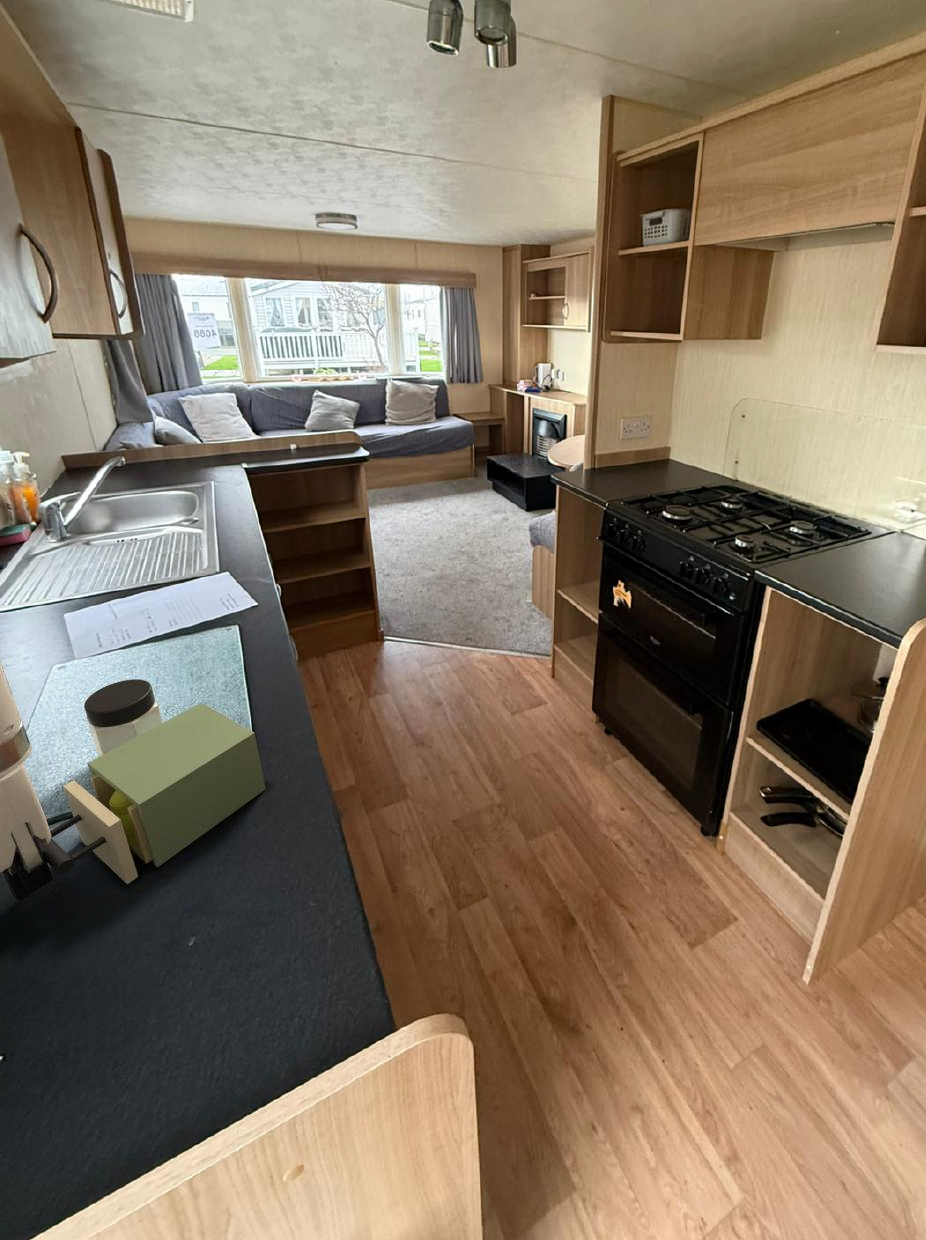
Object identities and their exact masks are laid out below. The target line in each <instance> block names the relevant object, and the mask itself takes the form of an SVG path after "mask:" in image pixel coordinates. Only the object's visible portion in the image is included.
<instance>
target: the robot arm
mask: <svg viewBox="0 0 926 1240" xmlns="http://www.w3.org/2000/svg"><path fill="white" fill-rule="evenodd" d="M31 752H32V744H31V741H30V740H29V736H28V733H27V731H26V728H25V725H24V721H23V719H22V717H21V714H20V711H19V708H18V705H17V703H16V700H15V698H14V695H13V692H12V689H11V687H10V685H9V681H8V678H7V675H6V673H5V670H4V667H3V665H2V662H1V661H0V873H2V874H3V876H4V879H5V881H6V883H7V887H8V888H9V890H10V893H11V894H12V895H13V896H14V897H15V899H16V900H17V901H18V902H20V901H23V900H25V899H26V898H28V897H29V896H30V895H32V894H33V893H35V892H37V891H39V890H40V889H42V888H43V887H45V886H46V885H48V884H50V883H51V881H53V878H54V876H53V874H52V871H51V869H50V867H49V866H50V865H49V864H48V863H47V861H46V858H45V856H44V853H43V852H42V850H41V847H40V844H39V841H40V842H41V843H42V844H43V845H44V844H45V845H48V843H49V842H50V840H51V833H50V831H51V830H50V827H49V824H48V821H47V817H46V816H45V812H44V810H43V807H42V804H41V802H40V800H39V797H38V794H37V792H36V790H35V788H34V785H33V783H32V779H31V778H30V776H29V773H28V771H27V768H26V767H25V765H24V762H25V761H26V760H27V759H28V757H29V756H30V754H31ZM38 840H39V841H38Z"/></svg>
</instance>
